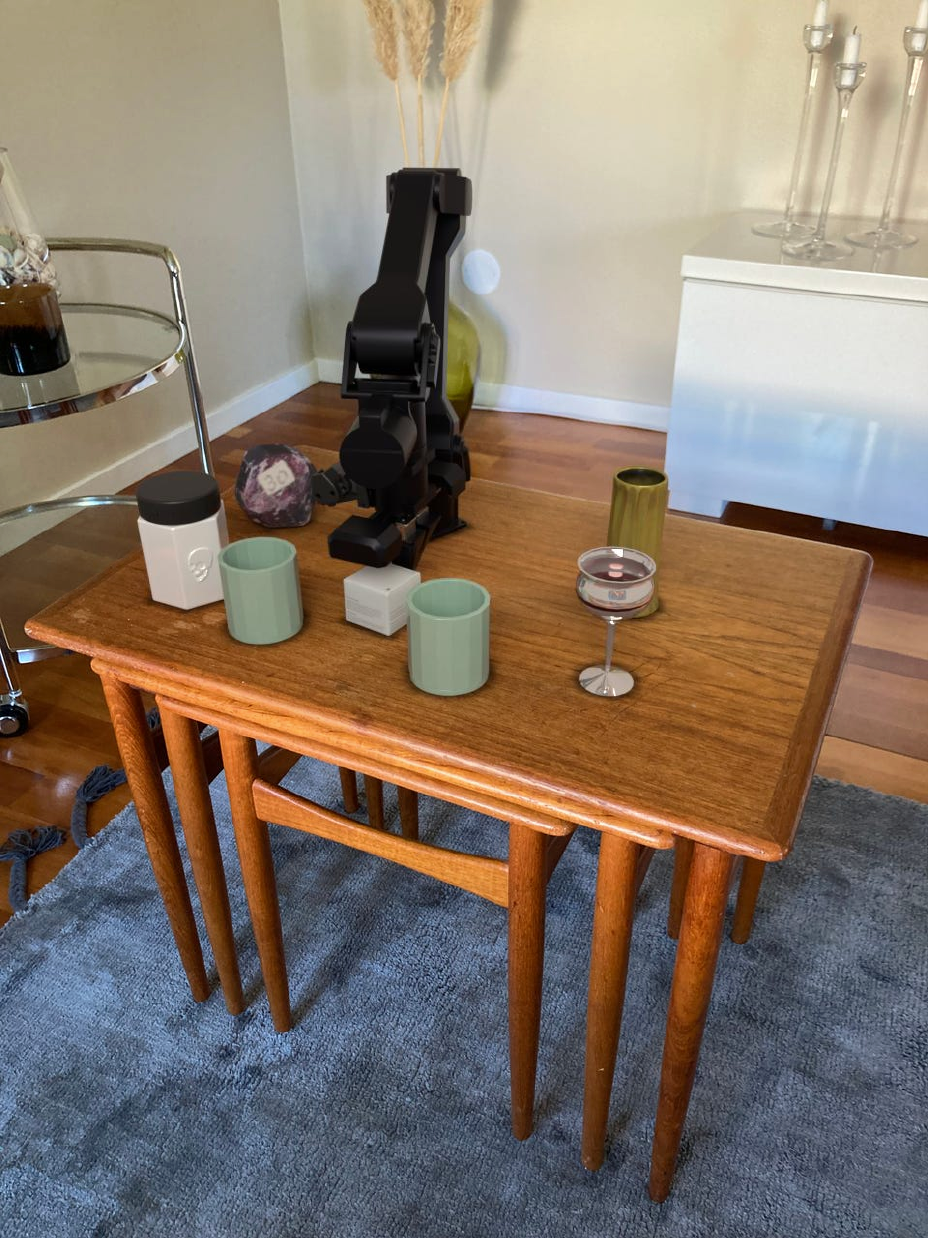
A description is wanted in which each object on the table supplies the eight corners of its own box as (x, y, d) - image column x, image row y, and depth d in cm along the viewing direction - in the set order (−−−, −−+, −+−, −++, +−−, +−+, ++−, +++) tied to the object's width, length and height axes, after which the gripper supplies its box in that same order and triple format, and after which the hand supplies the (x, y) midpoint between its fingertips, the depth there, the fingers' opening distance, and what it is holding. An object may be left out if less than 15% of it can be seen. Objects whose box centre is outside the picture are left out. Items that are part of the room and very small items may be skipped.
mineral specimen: (215, 523, 112) (221, 436, 111) (261, 522, 122) (267, 442, 121) (289, 533, 109) (296, 444, 108) (330, 531, 119) (337, 450, 118)
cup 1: (279, 598, 101) (271, 530, 97) (317, 627, 96) (310, 555, 92) (215, 622, 97) (203, 551, 93) (251, 653, 92) (241, 579, 88)
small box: (423, 613, 98) (422, 571, 96) (388, 638, 94) (386, 594, 92) (379, 598, 101) (377, 556, 98) (344, 621, 97) (340, 578, 94)
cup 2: (454, 642, 93) (453, 569, 89) (505, 675, 89) (507, 600, 84) (393, 670, 89) (389, 595, 85) (443, 706, 84) (442, 628, 80)
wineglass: (656, 694, 86) (671, 576, 80) (586, 707, 84) (595, 588, 78) (624, 655, 91) (636, 541, 85) (558, 666, 90) (564, 552, 84)
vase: (664, 596, 101) (680, 469, 94) (648, 624, 96) (663, 492, 89) (608, 585, 103) (619, 459, 96) (590, 611, 98) (600, 481, 91)
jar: (166, 618, 97) (145, 510, 91) (141, 585, 103) (120, 481, 97) (249, 594, 102) (234, 489, 95) (220, 563, 107) (205, 463, 101)
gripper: (371, 398, 101) (380, 528, 110) (270, 467, 87) (290, 610, 96) (466, 413, 98) (468, 547, 106) (377, 488, 83) (388, 635, 92)
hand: (404, 582), depth 100 cm, fingers closed
